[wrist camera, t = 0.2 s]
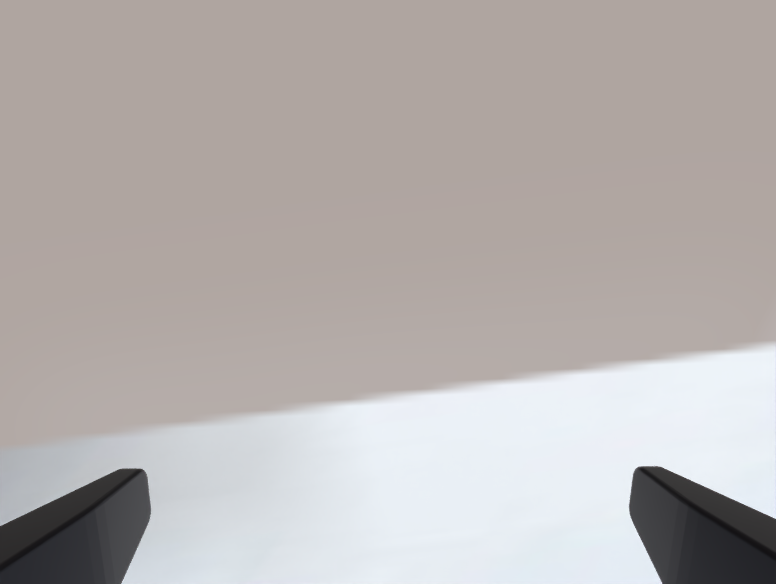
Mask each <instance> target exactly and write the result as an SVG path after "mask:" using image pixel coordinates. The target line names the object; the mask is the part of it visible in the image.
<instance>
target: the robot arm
mask: <svg viewBox="0 0 776 584" xmlns="http://www.w3.org/2000/svg"><path fill="white" fill-rule="evenodd" d="M629 511H630V516H631V519H632V522H633V524H634V526H635V528H636V530H637V532H638V534H639V536H640V538H641V540H642V542H643V544H644V546H645V548H646V551H647V553H648V555H649V557H650V559H651V561H652V563H653V565H654V567H655V569H656V571H657V573H658V575H659V577H660V579H661V582H662V584H776V519H775V518H772V517H770V516H768V515H766V514H763V513H761V512H759V511H757V510H755V509H752V508H750V507H748V506H746V505H744V504H741V503H739V502H737V501H735V500H733V499H730V498H728V497H726V496H724V495H722V494H719V493H717V492H715V491H713V490H711V489H708V488H706V487H704V486H702V485H700V484H697V483H695V482H693V481H691V480H689V479H686V478H684V477H682V476H680V475H678V474H675V473H673V472H671V471H669V470H666V469H664V468H662V467H658V466H641V467H638V468H636V469H635V471H634V474H633V479H632V487H631V495H630V503H629ZM150 514H151V505H150V496H149V487H148V479H147V474H146V472H145V471H144V470H143V469H119V470H117V471H115V472H113V473H110V474H108V475H106V476H104V477H102V478H100V479H98V480H96V481H94V482H92V483H90V484H88V485H85V486H83V487H81V488H79V489H77V490H75V491H73V492H71V493H69V494H67V495H65V496H63V497H60V498H58V499H56V500H54V501H52V502H50V503H48V504H46V505H44V506H42V507H40V508H37V509H35V510H33V511H31V512H29V513H27V514H25V515H23V516H21V517H19V518H17V519H15V520H12V521H10V522H8V523H6V524H4V525H2V526H0V584H121V583H122V581H123V579H124V576H125V574H126V572H127V570H128V567H129V565H130V563H131V561H132V558H133V556H134V554H135V552H136V550H137V547H138V545H139V543H140V541H141V538H142V536H143V534H144V532H145V529H146V527H147V525H148V522H149V519H150Z"/></svg>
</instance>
